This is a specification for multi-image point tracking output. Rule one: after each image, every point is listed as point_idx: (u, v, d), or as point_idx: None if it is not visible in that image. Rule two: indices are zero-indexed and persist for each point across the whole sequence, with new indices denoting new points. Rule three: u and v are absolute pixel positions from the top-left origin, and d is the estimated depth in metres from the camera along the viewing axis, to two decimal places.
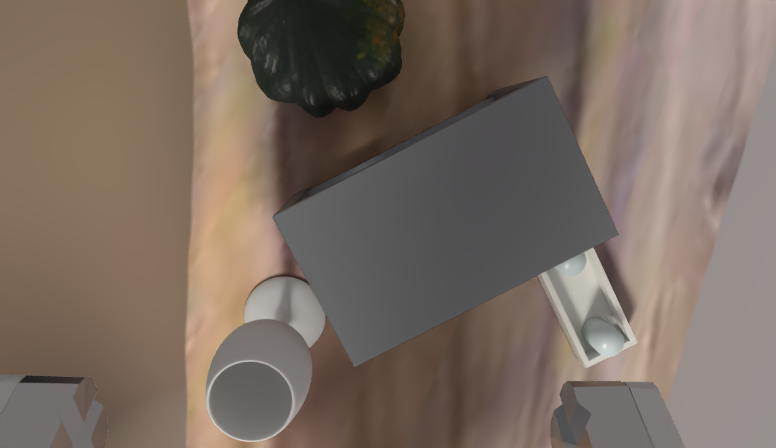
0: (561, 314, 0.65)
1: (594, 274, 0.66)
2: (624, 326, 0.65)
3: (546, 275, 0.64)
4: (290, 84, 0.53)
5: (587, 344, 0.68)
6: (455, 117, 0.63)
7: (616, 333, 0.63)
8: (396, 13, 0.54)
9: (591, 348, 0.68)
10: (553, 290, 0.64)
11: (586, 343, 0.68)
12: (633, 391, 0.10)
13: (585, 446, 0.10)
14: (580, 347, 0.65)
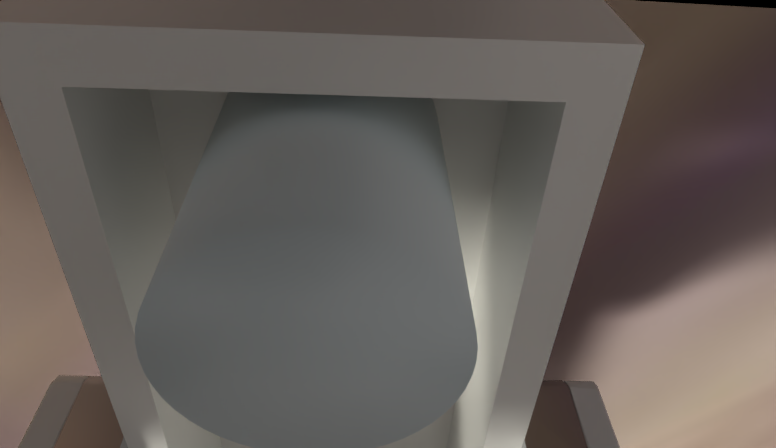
0: None
1: None
2: None
3: (106, 281, 0.07)
4: None
5: None
6: None
7: None
8: None
9: None
10: (134, 379, 0.08)
11: None
12: (572, 390, 0.10)
13: None
14: None
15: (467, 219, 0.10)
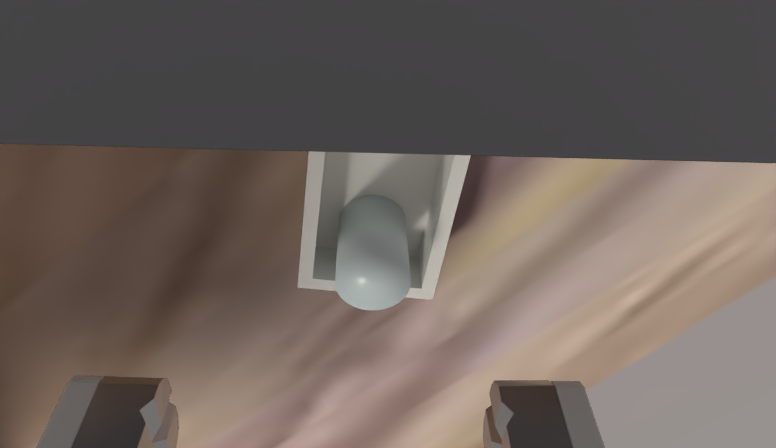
0: (311, 159, 0.23)
1: None
2: (431, 259, 0.26)
3: None
4: None
5: None
6: None
7: (399, 274, 0.24)
8: None
9: None
10: None
11: (337, 235, 0.28)
12: (559, 391, 0.10)
13: (506, 446, 0.10)
14: (310, 246, 0.26)
15: None
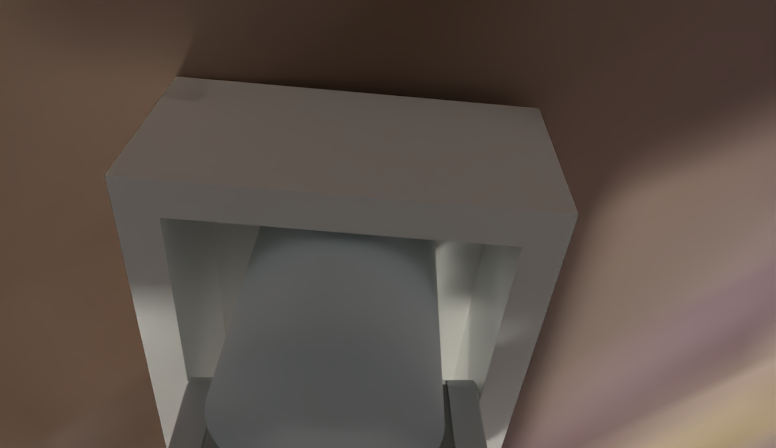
0: None
1: None
2: None
3: (172, 345, 0.10)
4: None
5: None
6: None
7: None
8: None
9: None
10: None
11: None
12: (450, 390, 0.10)
13: None
14: None
15: (454, 298, 0.12)
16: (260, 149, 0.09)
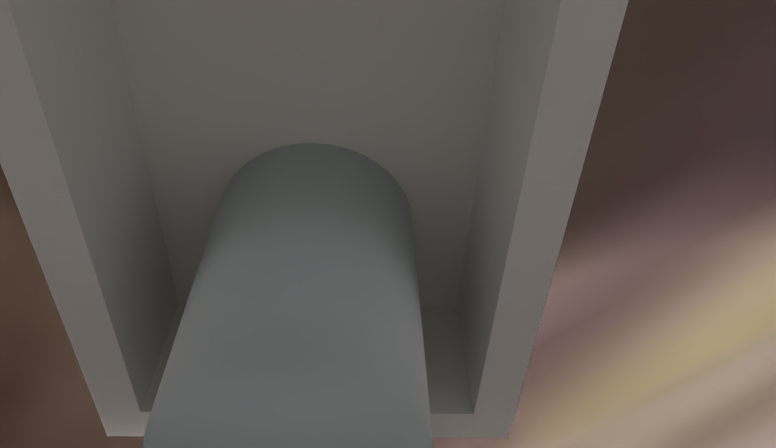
0: None
1: None
2: (497, 333, 0.08)
3: None
4: None
5: None
6: None
7: (388, 425, 0.06)
8: None
9: None
10: None
11: None
12: None
13: None
14: (96, 325, 0.08)
15: None
16: None
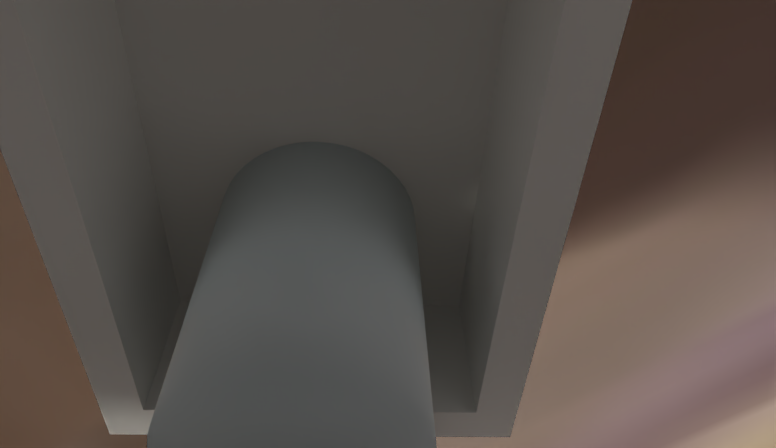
0: None
1: None
2: (500, 332, 0.08)
3: None
4: None
5: None
6: None
7: (390, 422, 0.06)
8: None
9: None
10: None
11: None
12: None
13: None
14: (99, 323, 0.08)
15: None
16: None
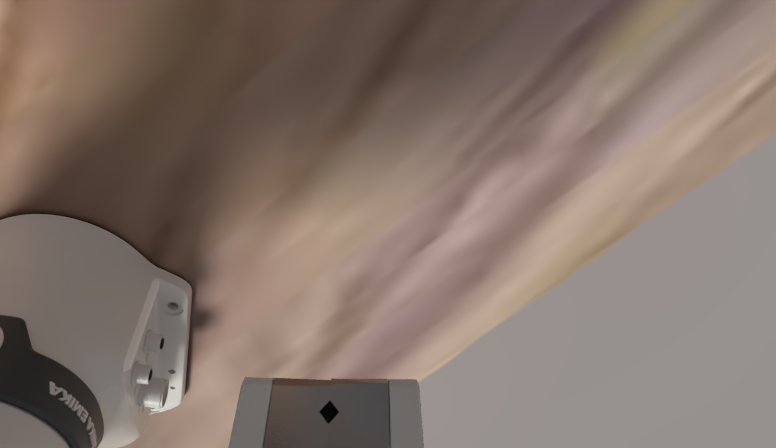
0: None
1: None
2: None
3: None
4: None
5: None
6: None
7: None
8: None
9: None
10: None
11: None
12: (391, 389, 0.10)
13: None
14: None
15: None
16: None
